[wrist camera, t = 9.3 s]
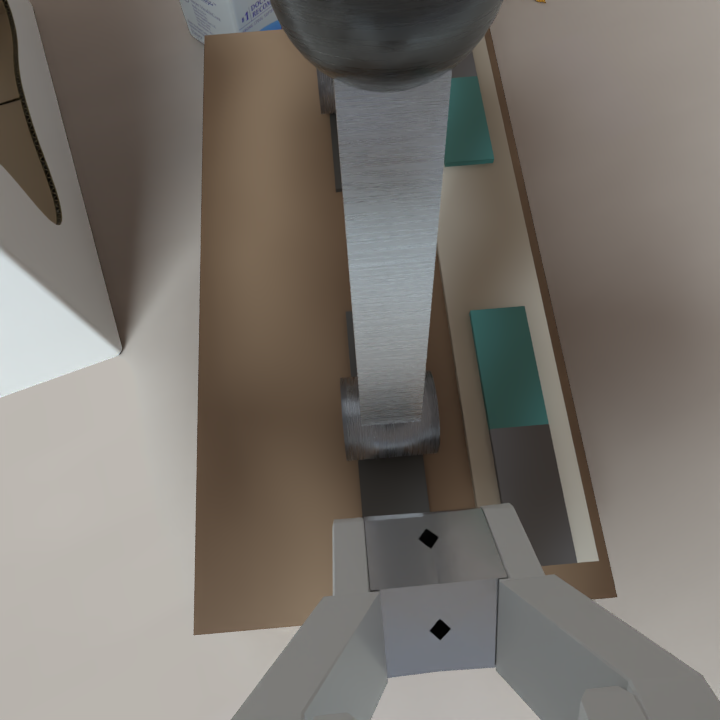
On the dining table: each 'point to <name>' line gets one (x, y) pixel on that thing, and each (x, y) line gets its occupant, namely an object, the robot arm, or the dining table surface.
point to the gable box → (43, 226)
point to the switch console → (337, 346)
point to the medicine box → (228, 16)
